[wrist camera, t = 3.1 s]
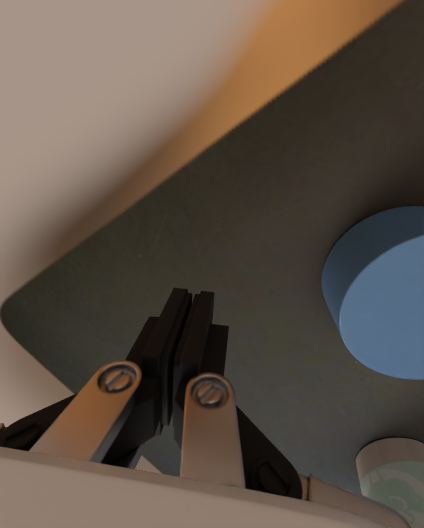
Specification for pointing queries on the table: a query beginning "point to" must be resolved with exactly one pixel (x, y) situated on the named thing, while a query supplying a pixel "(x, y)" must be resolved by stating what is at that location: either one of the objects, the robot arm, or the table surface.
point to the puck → (380, 291)
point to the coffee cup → (394, 476)
